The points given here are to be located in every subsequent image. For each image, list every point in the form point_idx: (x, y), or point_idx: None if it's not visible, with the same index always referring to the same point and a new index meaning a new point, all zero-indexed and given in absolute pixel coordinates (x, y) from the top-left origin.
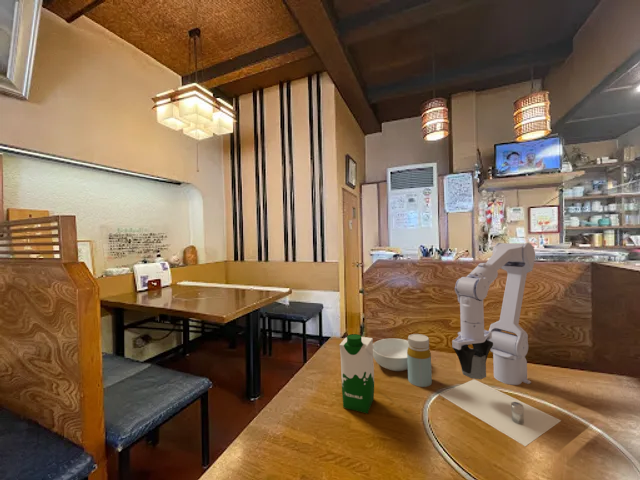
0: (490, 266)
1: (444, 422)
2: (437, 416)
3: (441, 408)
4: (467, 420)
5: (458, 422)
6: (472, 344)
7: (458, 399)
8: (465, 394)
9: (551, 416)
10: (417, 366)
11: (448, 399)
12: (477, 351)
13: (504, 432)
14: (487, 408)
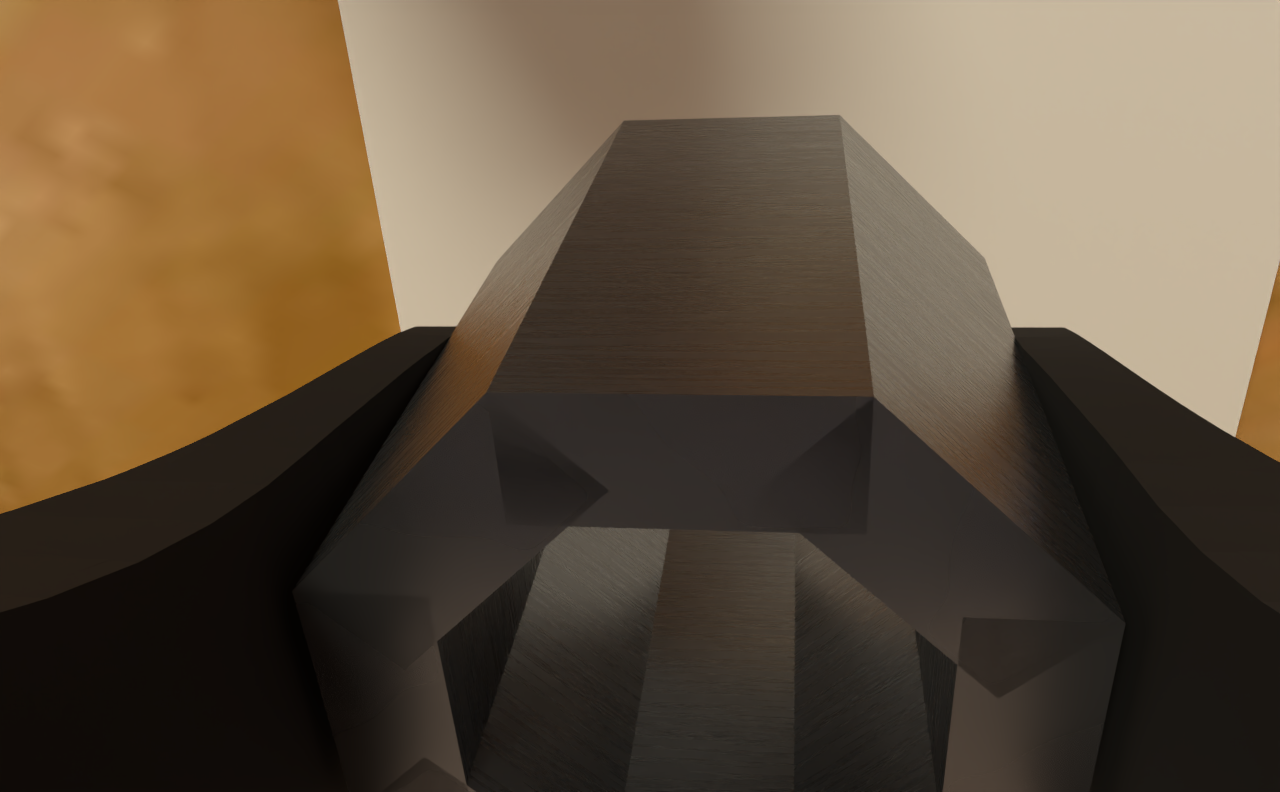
0: None
1: (83, 224)
2: (61, 109)
3: (209, 15)
4: (357, 327)
5: (236, 299)
6: (1230, 603)
7: (498, 77)
8: (711, 41)
9: None
10: None
11: (351, 2)
12: (941, 747)
13: None
14: None
